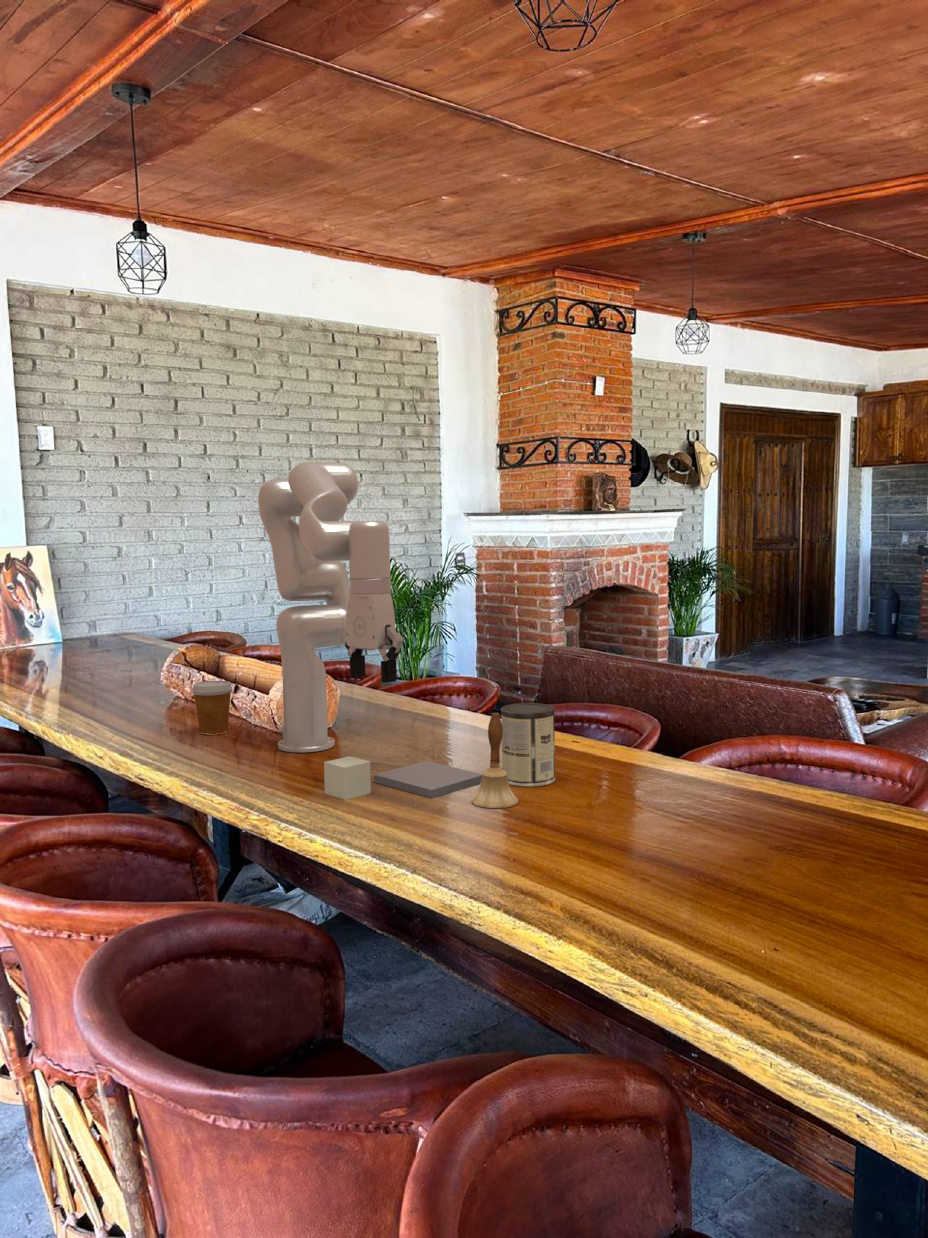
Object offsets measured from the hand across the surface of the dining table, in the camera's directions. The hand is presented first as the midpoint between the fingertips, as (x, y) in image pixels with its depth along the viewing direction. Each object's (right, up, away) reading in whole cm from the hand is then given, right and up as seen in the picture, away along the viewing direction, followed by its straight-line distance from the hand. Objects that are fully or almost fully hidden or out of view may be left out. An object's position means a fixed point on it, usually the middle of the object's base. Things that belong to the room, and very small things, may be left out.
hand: (373, 679), depth 176 cm
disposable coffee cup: (-43, -16, +51) cm, 68 cm away
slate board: (+10, -20, +4) cm, 23 cm away
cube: (-4, -21, -3) cm, 22 cm away
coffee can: (+29, -20, +5) cm, 36 cm away
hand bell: (+22, -21, -9) cm, 32 cm away
